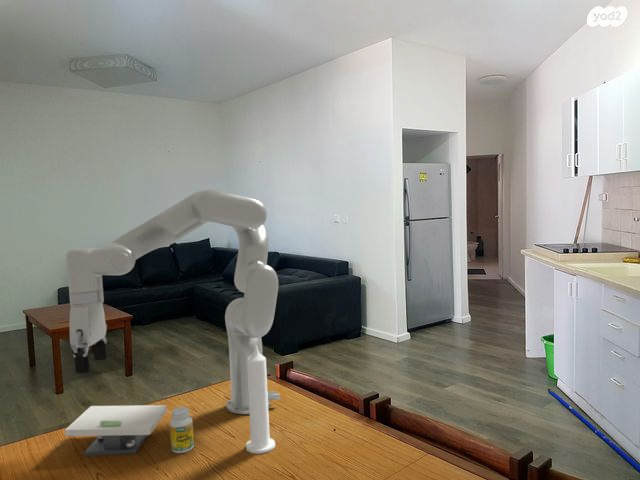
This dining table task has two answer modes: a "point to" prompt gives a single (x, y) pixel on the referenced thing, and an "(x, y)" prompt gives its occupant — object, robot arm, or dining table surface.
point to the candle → (258, 405)
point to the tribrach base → (115, 445)
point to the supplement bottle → (181, 430)
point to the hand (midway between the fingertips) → (92, 365)
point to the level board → (117, 420)
